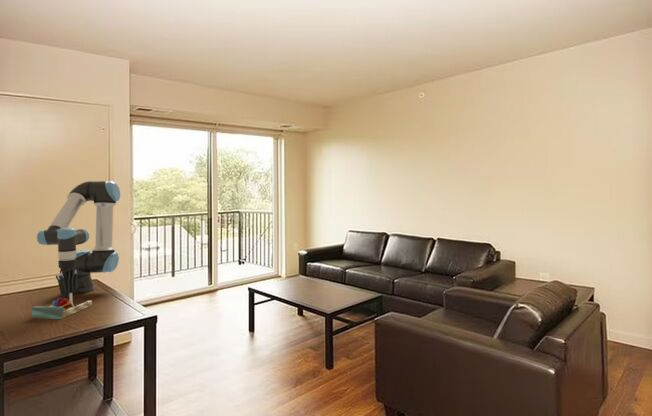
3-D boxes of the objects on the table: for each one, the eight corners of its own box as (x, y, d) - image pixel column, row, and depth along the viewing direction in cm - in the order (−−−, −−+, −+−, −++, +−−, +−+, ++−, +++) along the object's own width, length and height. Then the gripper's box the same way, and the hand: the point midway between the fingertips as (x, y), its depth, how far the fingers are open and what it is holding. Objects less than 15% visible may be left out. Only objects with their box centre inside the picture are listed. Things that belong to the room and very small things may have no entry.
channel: (66, 304, 200) (66, 294, 200) (92, 305, 199) (91, 295, 198) (32, 318, 179) (31, 307, 179) (60, 319, 178) (60, 308, 177)
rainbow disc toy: (63, 315, 183) (63, 300, 182) (45, 315, 184) (44, 300, 183) (77, 310, 191) (76, 295, 191) (59, 309, 192) (58, 295, 192)
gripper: (70, 256, 198) (71, 301, 199) (49, 261, 185) (51, 309, 186) (83, 257, 197) (85, 302, 198) (64, 261, 184) (66, 310, 185)
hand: (69, 305), depth 192 cm, fingers closed
